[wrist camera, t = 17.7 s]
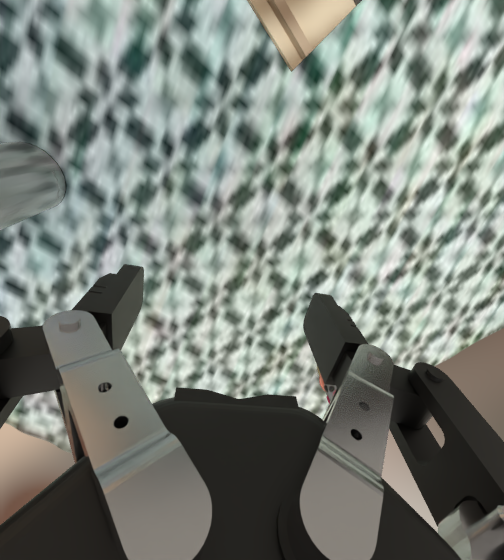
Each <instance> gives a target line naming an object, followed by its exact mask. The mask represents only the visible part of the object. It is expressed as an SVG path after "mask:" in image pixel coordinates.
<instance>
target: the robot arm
mask: <svg viewBox="0 0 504 560" xmlns="http://www.w3.org/2000/svg"><path fill="white" fill-rule="evenodd" d="M65 191H66V184H65V179H64V176H63V173H62V171H61V169H60V168H59V166H58V165H57V163H56V162H55V161H54V160H53V159H52V157H51V156H49V155H48V154H47V153H46V152H45V151H43V150H41V149H40V148H38V147H36V146H33V145H31V144H28V143H23V142H8V143H0V230H2V229H4V228H6V227H9V226H11V225H13V224H16V223H18V222H20V221H23V220H25V219H27V218H30V217H32V216H34V215H37V214H39V213H41V212H44V211H46V210H48V209H51V208H53V207H55V206H57V205H58V204H59V203H60V202H61V201H62V199H63V198H64V195H65ZM143 282H144V269H143V267H140V266H134V265H127V264H124V265H123V267H122V268H121V269H120V270H119V272H118V273H117V274H111V273H109V274H107V275H105V276H103V277H101V278H99V279H98V281H97V282H96V283H95V284H94V285H93V287H91V289H90V290H89V291H88V292H87V293H86V294H85V295H84V297H83V298H82V299H81V300H80V301H79V302H78V303H77V305H76V306H75V307H74V308H73V309H72V310H69V311H64V312H60V313H57V314H55V315H53V316H51V317H49V318H48V319H47V320H46V321H45V322H44V324H43V326H35V327H24V328H12V329H11V326H10V322H9V320H8V319H6V318H4V317H2V316H0V428H1V427H2V426H3V424H4V423H5V421H6V420H7V418H8V417H9V415H10V414H11V413H12V411H13V410H14V408H15V407H16V405H17V404H18V402H19V401H20V399H21V398H22V397H23V396H24V395H30V394H35V393H41V392H47V391H52V390H54V392H55V395H56V398H57V401H58V405H59V408H60V411H61V414H62V418H63V421H64V424H65V428H66V431H67V434H68V438H69V442H70V447H71V451H72V455H73V458H74V462H75V464H74V465H73V466H72V467H70V468H69V469H68V470H67V471H66V472H65V473H63V474H62V475H61V476H60V477H58V478H57V479H56V480H55V481H54V482H52V483H51V484H50V485H49V486H47V487H46V488H45V489H44V490H43V491H41V492H40V493H39V494H38V495H36V496H35V497H34V498H33V499H32V500H31V501H29V502H28V503H27V504H26V505H24V506H23V507H22V508H21V509H19V510H18V511H17V512H16V513H15V514H13V515H12V516H11V517H10V518H9V519H7V520H6V521H5V522H4V523H2V524H1V525H0V560H504V442H503V440H502V439H501V438H500V437H499V436H498V435H497V433H496V432H495V431H494V430H493V429H492V427H491V426H490V425H489V424H488V423H487V422H486V420H485V419H484V418H483V417H482V416H481V414H480V413H479V412H478V411H477V410H476V408H475V407H474V406H473V405H472V404H471V403H470V402H469V400H468V399H467V398H466V397H465V396H464V394H463V393H462V392H461V391H460V390H459V388H458V387H457V386H456V385H455V384H454V382H453V381H452V380H451V379H450V378H449V377H448V376H447V375H446V374H445V373H444V372H442V371H441V370H440V369H438V368H436V367H434V366H432V365H430V364H427V363H421V362H420V363H416V364H415V366H414V367H413V369H412V370H408V369H405V368H402V367H399V366H396V365H394V363H393V360H392V359H391V357H390V356H389V355H388V354H387V353H386V352H384V351H383V350H381V349H380V348H378V347H376V346H373V345H369V344H368V343H367V341H366V340H365V338H364V337H363V335H362V334H361V332H360V331H359V329H358V328H357V327H356V325H355V323H354V322H353V321H352V319H351V317H350V316H349V314H348V313H347V312H346V311H345V310H344V309H342V308H341V307H340V306H338V305H337V303H336V302H335V300H334V299H333V297H332V296H331V295H326V294H320V293H315V294H314V295H313V297H312V300H311V302H310V305H309V308H308V310H307V313H306V316H305V318H304V324H303V328H304V332H305V335H306V337H307V340H308V343H309V345H310V348H311V350H312V353H313V356H314V358H315V361H316V363H317V366H318V368H319V371H320V374H321V376H322V379H323V381H324V384H326V385H336V387H337V389H336V391H335V393H334V395H333V397H332V399H331V401H330V404H329V406H328V408H327V410H326V413H325V415H324V417H323V419H321V418H319V417H318V416H316V415H315V414H313V413H311V412H310V411H308V410H305V409H303V408H301V407H298V403H297V399H296V397H294V396H281V395H262V396H256V397H250V398H244V399H236V398H233V397H229V396H226V395H223V394H219V393H216V392H213V391H210V390H203V389H190V388H177V387H176V392H175V397H174V398H168V399H165V400H161V401H158V402H156V403H153V404H152V403H151V402H150V400H149V398H148V397H147V395H146V393H145V391H144V390H143V388H142V386H141V385H140V383H139V381H138V379H137V378H136V376H135V374H134V373H133V371H132V369H131V367H130V366H129V364H128V362H127V361H126V359H125V357H124V355H123V354H122V352H121V349H122V347H123V345H124V343H125V341H126V339H127V336H128V334H129V332H130V330H131V328H132V326H133V324H134V322H135V320H136V318H137V316H138V314H139V312H140V309H141V306H142V302H143ZM432 416H433V417H434V419H435V420H436V422H437V423H438V425H439V426H440V428H441V429H442V431H443V433H444V437H445V443H444V446H443V447H442V448H441V447H440V446H439V444H438V443H437V441H436V439H435V438H434V436H433V435H432V433H431V431H430V430H429V428H428V427H427V425H426V423H427V422H428V421H429V419H430V418H431V417H432ZM389 429H390V431H391V433H392V435H393V437H394V439H395V441H396V443H397V445H398V447H399V449H400V451H401V453H402V455H403V457H404V459H405V461H406V463H407V465H408V467H409V469H410V471H411V473H412V476H413V478H414V480H415V481H416V483H417V485H418V488H419V490H420V492H421V494H422V496H423V498H424V500H425V502H426V504H427V506H428V508H429V510H430V512H431V514H432V516H433V518H434V520H435V522H436V524H437V526H438V533H437V532H436V531H435V530H434V529H433V528H432V527H431V526H430V525H429V524H428V523H427V522H426V521H425V520H424V519H423V518H422V517H421V516H420V515H419V514H418V513H417V512H416V511H415V510H414V509H413V508H412V507H411V506H410V505H409V504H408V503H407V502H406V501H405V500H404V499H403V498H402V497H401V496H400V495H399V494H397V492H396V491H394V489H393V488H391V486H390V485H389V484H388V483H386V481H384V480H383V479H382V478H381V474H382V469H383V463H384V457H385V450H386V444H387V438H388V431H389Z"/></svg>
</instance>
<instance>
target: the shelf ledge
mask: <svg viewBox="0 0 504 560" xmlns="http://www.w3.org/2000/svg"><path fill="white" fill-rule="evenodd" d="M247 1H248V2H249V4H250V6H251V7H252V9H253V10H254V12H255V14H256V15H257V17H258V19H259V20H260V22H261V23H262V25H263V27H264V28H265V30H266V31H267V33H268V35H269V36H270V38H271V40H272V41H273V43H274V44H275V46H276V48H277V49H278V51H279V52H280V54H281V56H282V57H283V59H284V61H285V62H286V64H287V65H288V67H289V69H290V70H291V71H292V70H293V69H294V68H295V67H296V66H297V65H298V64H299V63H300V62H301V61H302V60H303V59H304V58H305V57H306V56H307V55H308V54H309V53H310V52H311V51H312V50H313V49H314V48H315V47H316V46H317V45H318V44H319V43H320V42H321V41H322V40H323V39H324V38H325V37H326V36H327V35H328V34H329V33H330V32H331V31H332V30H333V29H334V28H335V27H336V26H337V25H338V24H339V23H340V22H341V21H342V20H343V19H344V18H345V17H346V16H347V15H348V14H349V13H350V12H351V11H352V10H353V9H354V7H355V6H356V5H357V4H359V3H360V2H361V1H362V0H247Z"/></svg>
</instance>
